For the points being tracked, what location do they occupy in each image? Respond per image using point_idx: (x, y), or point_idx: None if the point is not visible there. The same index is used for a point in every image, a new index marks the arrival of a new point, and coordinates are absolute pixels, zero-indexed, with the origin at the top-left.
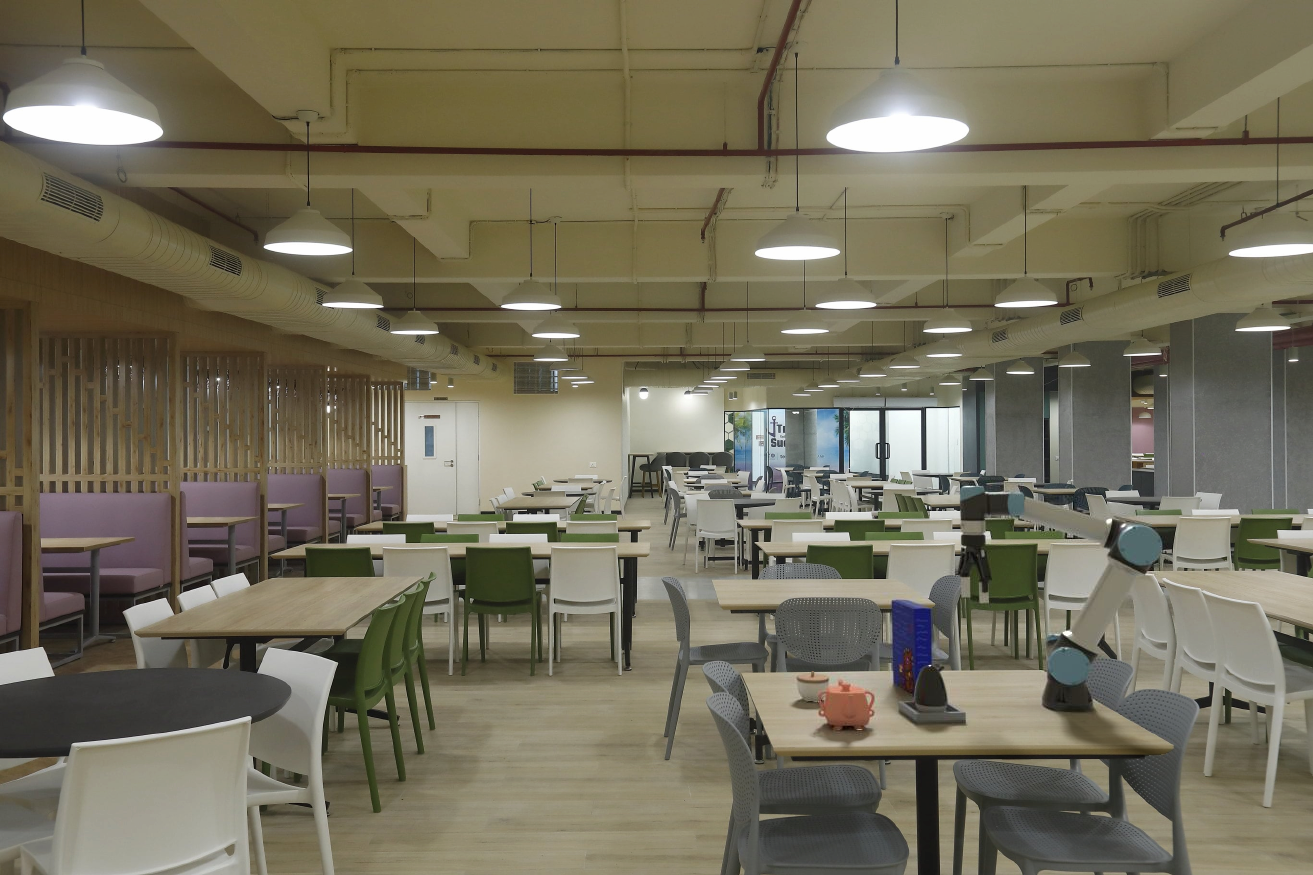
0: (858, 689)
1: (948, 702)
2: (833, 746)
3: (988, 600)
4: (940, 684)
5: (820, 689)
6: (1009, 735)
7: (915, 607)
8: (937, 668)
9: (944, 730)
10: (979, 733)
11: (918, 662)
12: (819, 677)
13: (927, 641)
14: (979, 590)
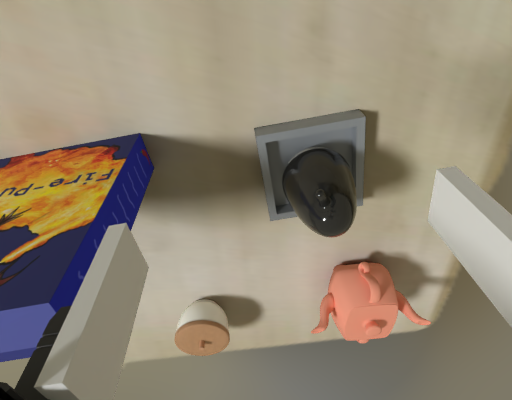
0: (372, 310)
1: (277, 133)
2: (440, 292)
3: (465, 177)
4: (354, 188)
5: (225, 319)
6: (468, 41)
7: None
8: (325, 205)
9: (403, 158)
10: (437, 101)
11: (133, 206)
12: (210, 334)
13: (104, 220)
14: (488, 287)
